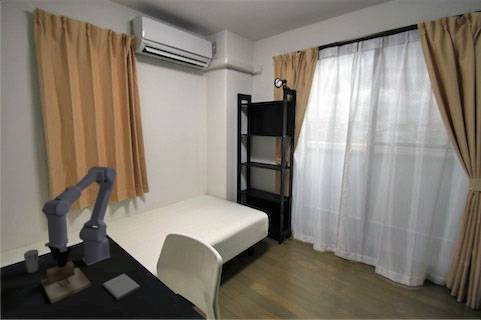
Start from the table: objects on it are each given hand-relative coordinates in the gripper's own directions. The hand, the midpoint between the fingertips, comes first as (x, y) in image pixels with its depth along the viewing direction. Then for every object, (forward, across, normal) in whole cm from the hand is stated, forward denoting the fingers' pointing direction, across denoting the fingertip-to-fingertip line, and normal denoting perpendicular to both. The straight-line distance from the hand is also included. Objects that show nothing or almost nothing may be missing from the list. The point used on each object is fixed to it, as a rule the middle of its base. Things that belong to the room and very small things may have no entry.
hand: (60, 262), depth 88 cm
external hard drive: (+8, +22, +14) cm, 27 cm away
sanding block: (+6, 0, 0) cm, 6 cm away
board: (+8, +4, +1) cm, 9 cm away
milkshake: (+8, -16, -6) cm, 19 cm away
